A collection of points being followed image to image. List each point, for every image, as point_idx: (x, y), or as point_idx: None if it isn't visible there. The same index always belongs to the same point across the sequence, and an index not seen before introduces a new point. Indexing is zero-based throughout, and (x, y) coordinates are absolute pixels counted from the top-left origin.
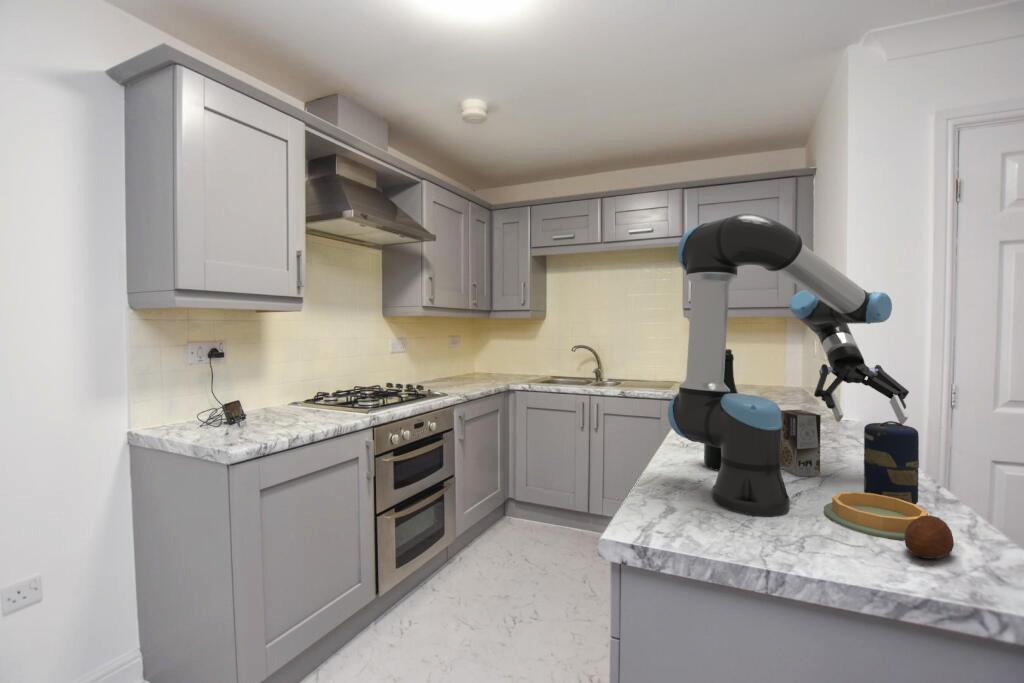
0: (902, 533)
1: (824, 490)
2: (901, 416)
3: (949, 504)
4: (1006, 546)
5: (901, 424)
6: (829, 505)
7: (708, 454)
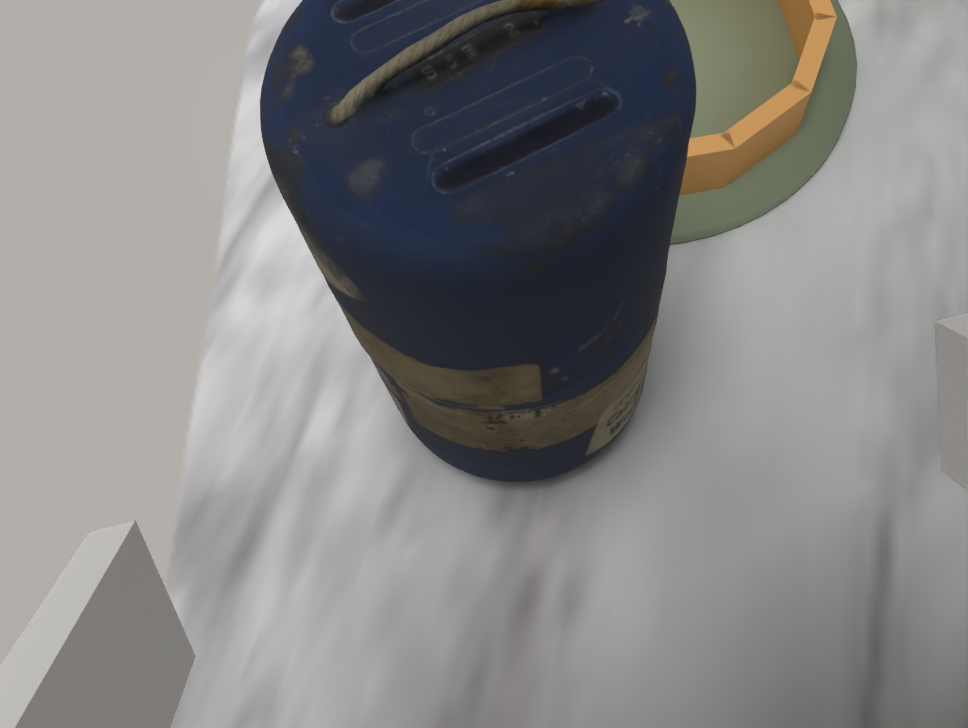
0: None
1: (852, 440)
2: (143, 607)
3: (222, 473)
4: (266, 28)
5: (357, 86)
6: (831, 110)
7: None
